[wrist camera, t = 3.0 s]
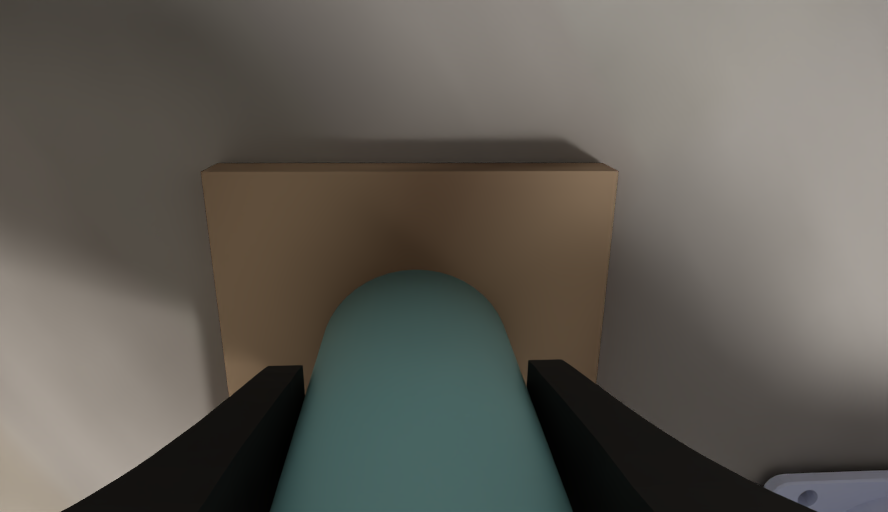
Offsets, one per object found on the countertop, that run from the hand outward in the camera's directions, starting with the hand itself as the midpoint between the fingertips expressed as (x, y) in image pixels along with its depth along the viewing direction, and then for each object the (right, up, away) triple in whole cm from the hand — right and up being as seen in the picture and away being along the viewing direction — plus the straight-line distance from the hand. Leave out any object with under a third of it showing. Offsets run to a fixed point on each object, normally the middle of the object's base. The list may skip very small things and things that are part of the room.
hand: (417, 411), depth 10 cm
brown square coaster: (0, +1, +3) cm, 3 cm away
